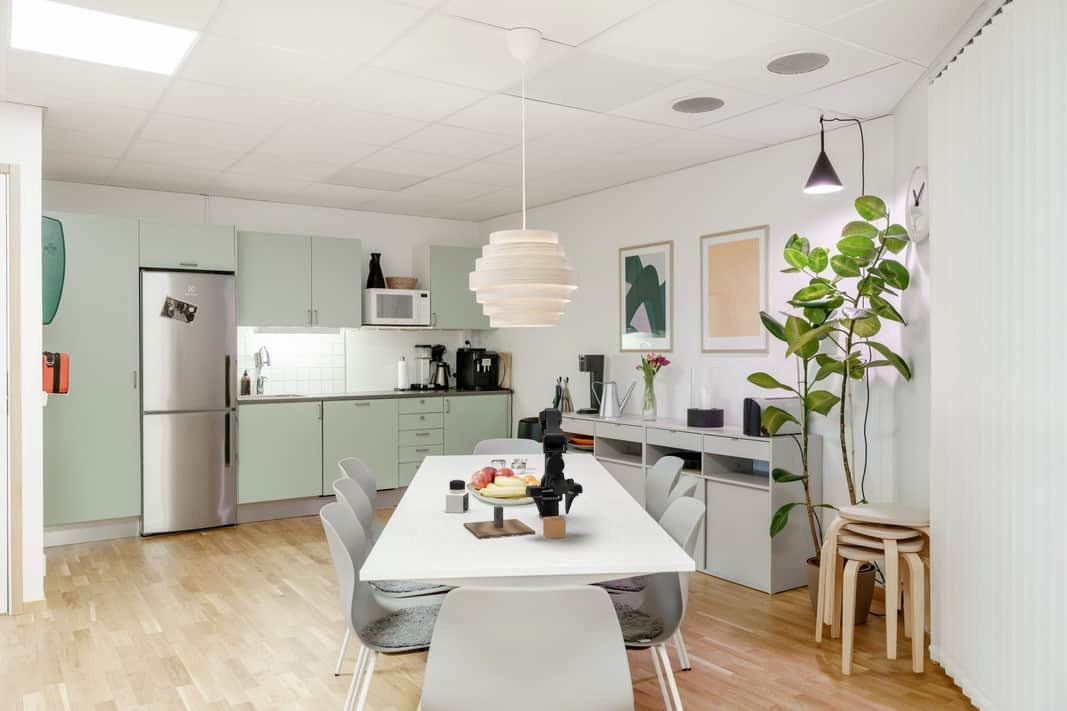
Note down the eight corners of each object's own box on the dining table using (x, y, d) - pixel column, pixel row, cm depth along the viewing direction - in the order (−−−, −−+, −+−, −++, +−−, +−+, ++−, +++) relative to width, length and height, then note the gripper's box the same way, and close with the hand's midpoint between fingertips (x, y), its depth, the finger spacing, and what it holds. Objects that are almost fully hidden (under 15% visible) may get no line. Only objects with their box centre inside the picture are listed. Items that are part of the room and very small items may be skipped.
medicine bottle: (463, 513, 297) (463, 482, 297) (445, 512, 298) (445, 481, 298) (468, 509, 304) (468, 479, 304) (451, 508, 305) (451, 478, 305)
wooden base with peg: (516, 521, 283) (516, 499, 283) (535, 534, 264) (535, 510, 264) (463, 525, 276) (463, 503, 276) (478, 539, 258) (478, 515, 257)
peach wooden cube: (559, 533, 265) (559, 516, 265) (565, 537, 259) (565, 519, 259) (543, 534, 263) (543, 517, 263) (549, 538, 257) (549, 520, 257)
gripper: (536, 474, 250) (536, 522, 250) (589, 470, 257) (589, 518, 257) (524, 469, 261) (525, 515, 261) (576, 466, 267) (576, 511, 267)
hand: (554, 515), depth 261 cm, fingers open, 9 cm apart
